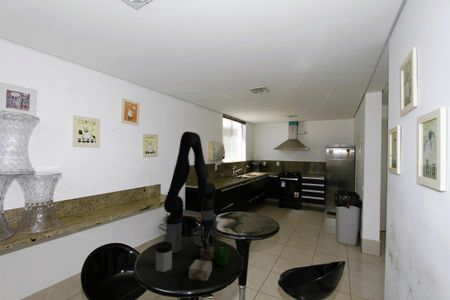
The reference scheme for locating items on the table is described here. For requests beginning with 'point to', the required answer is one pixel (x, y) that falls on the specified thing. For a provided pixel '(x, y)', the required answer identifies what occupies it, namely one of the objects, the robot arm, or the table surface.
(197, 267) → the maple base
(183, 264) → the table surface
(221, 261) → the bell pepper
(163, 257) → the jar
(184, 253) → the table surface
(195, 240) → the food container
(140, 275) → the table surface
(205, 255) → the walnut cube
